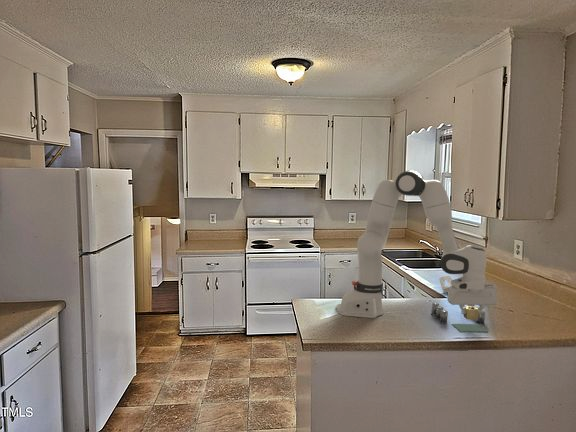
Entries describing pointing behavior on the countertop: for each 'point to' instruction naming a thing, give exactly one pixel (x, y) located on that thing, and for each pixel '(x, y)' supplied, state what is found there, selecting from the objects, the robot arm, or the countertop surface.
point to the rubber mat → (469, 328)
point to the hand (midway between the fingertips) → (471, 314)
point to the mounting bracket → (445, 289)
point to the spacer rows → (443, 314)
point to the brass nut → (471, 313)
